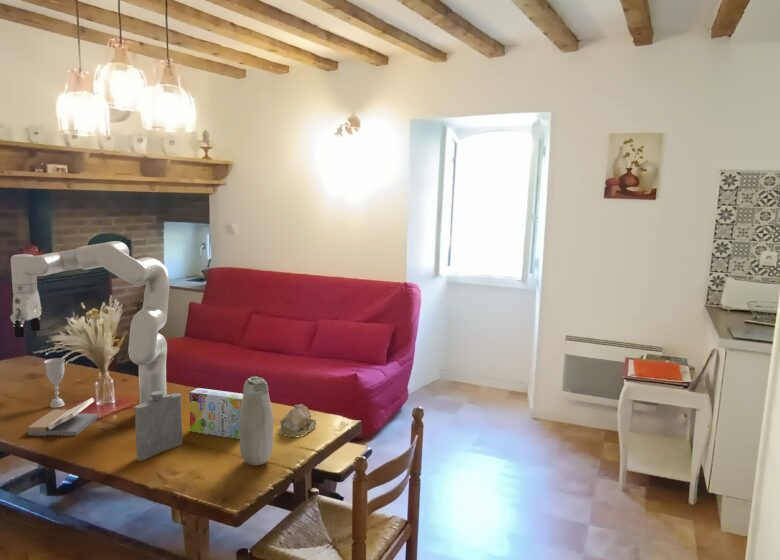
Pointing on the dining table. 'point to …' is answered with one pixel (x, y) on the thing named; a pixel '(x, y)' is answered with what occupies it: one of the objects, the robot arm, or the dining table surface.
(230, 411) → the snack box
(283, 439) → the dining table surface
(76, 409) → the pale plank
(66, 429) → the floor sample board
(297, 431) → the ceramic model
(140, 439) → the hip flask
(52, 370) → the chalice
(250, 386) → the pale grey bottle
